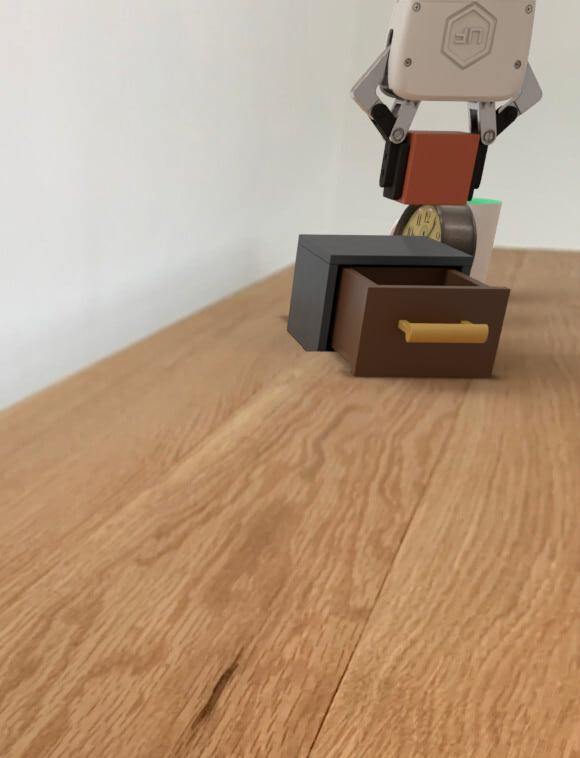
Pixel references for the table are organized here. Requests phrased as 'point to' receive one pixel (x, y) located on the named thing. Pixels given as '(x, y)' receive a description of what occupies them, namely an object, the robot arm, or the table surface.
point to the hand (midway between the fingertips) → (426, 196)
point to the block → (439, 167)
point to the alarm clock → (441, 225)
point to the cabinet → (330, 251)
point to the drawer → (416, 322)
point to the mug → (481, 233)
